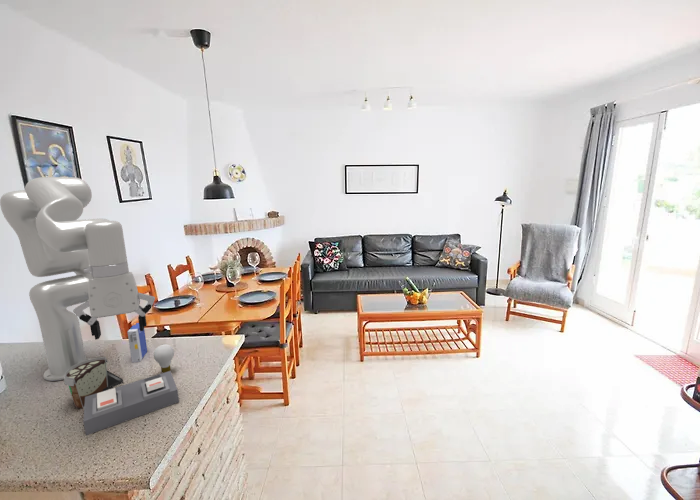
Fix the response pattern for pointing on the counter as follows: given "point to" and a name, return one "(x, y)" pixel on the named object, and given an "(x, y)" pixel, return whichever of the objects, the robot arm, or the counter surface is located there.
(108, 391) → the rocker
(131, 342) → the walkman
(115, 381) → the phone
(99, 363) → the food container
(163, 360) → the light bulb
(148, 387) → the rocker
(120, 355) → the counter surface
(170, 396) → the rocker switch panel
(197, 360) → the counter surface
